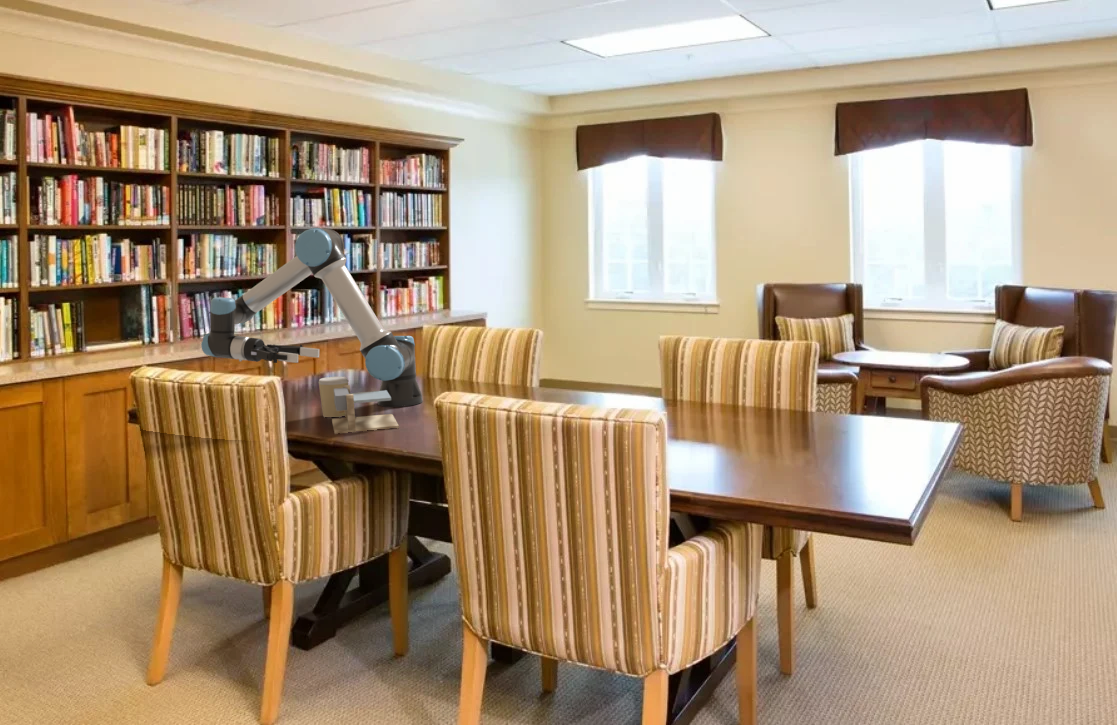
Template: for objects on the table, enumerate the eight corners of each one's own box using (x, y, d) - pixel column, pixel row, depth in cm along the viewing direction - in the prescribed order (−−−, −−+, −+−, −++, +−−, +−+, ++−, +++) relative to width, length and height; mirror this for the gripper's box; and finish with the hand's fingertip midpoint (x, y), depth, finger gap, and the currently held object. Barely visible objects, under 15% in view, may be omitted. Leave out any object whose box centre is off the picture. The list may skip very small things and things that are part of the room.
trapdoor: (387, 398, 284) (386, 384, 284) (391, 406, 271) (390, 391, 271) (334, 402, 280) (333, 388, 280) (336, 410, 267) (335, 396, 266)
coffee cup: (343, 418, 287) (340, 381, 285) (315, 418, 289) (312, 381, 287) (355, 412, 296) (353, 376, 295) (328, 412, 298) (326, 376, 296)
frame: (392, 416, 288) (390, 382, 287) (398, 428, 270) (396, 391, 269) (332, 421, 283) (329, 386, 282) (334, 433, 265) (332, 396, 264)
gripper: (269, 355, 308) (326, 362, 304) (226, 365, 284) (288, 372, 280) (269, 333, 307) (327, 340, 302) (226, 341, 283) (288, 348, 278)
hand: (308, 355), depth 291 cm, fingers open, 13 cm apart
